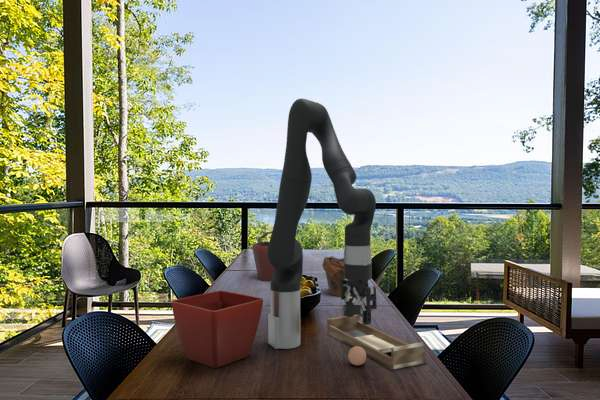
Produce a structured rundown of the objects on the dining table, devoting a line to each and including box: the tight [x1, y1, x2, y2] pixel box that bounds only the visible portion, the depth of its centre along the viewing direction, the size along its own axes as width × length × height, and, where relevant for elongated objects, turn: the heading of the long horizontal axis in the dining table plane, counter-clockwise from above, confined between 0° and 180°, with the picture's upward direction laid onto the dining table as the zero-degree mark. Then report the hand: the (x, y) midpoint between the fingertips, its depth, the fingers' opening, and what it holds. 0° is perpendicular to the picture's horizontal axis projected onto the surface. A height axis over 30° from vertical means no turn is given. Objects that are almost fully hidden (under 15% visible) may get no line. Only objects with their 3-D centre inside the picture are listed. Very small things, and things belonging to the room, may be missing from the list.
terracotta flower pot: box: [322, 255, 347, 297], centre depth 219 cm, size 18×20×18 cm
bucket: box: [252, 231, 275, 283], centre depth 255 cm, size 24×22×25 cm
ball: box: [347, 346, 367, 366], centre depth 132 cm, size 5×5×5 cm
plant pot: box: [171, 290, 264, 369], centre depth 137 cm, size 19×19×17 cm
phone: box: [342, 304, 363, 318], centre depth 189 cm, size 8×1×15 cm
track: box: [326, 315, 427, 371], centre depth 146 cm, size 12×35×6 cm, turn 25°
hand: (358, 320), depth 132 cm, fingers open, 8 cm apart
